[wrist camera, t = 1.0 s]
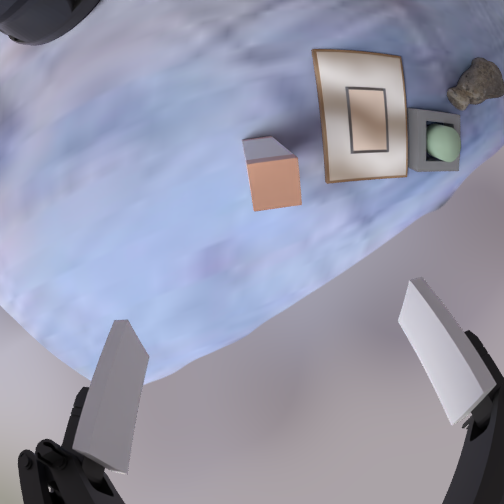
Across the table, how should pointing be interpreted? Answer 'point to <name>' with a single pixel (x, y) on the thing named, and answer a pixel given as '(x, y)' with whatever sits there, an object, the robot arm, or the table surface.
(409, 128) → the button housing
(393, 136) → the cream rectangular board
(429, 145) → the button
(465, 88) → the stone
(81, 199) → the table surface
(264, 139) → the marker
